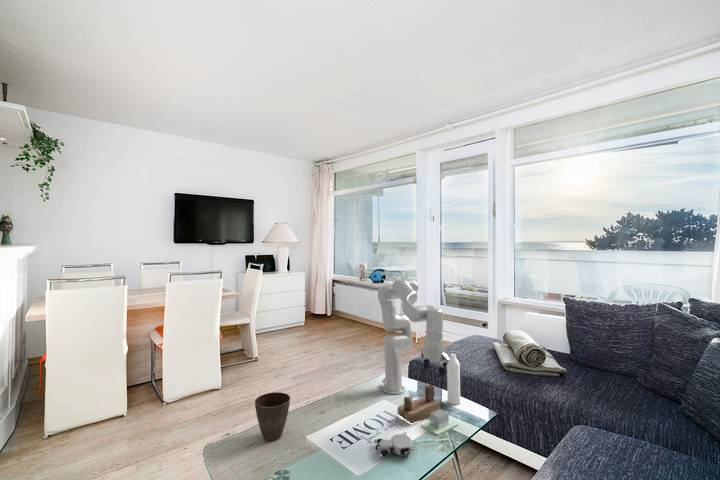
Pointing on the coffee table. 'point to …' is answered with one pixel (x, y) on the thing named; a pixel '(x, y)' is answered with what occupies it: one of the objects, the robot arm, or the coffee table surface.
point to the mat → (441, 430)
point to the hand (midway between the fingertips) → (434, 371)
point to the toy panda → (394, 445)
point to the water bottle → (453, 380)
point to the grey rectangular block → (439, 419)
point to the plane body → (419, 406)
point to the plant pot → (272, 414)
